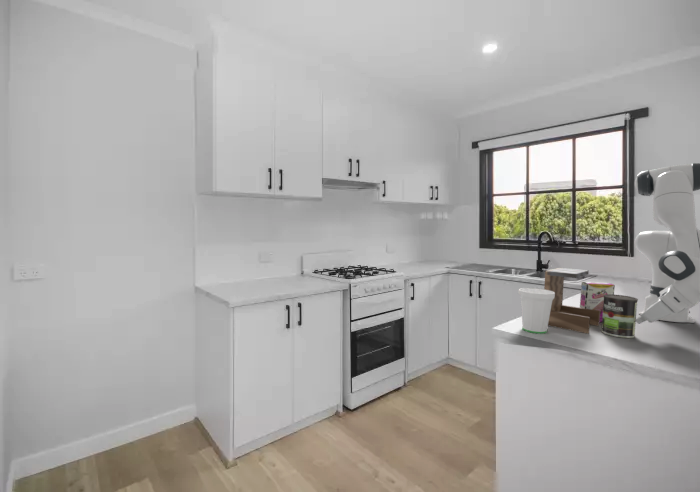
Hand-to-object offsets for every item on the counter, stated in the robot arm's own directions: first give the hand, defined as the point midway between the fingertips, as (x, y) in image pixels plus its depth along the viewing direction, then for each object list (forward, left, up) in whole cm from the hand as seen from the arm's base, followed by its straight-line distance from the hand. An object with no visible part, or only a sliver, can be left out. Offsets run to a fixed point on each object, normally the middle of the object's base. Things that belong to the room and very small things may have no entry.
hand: (637, 321), depth 132 cm
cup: (+20, -28, -6) cm, 35 cm away
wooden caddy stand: (0, -20, -6) cm, 21 cm away
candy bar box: (-16, -16, -6) cm, 24 cm away
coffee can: (0, -5, -6) cm, 8 cm away
